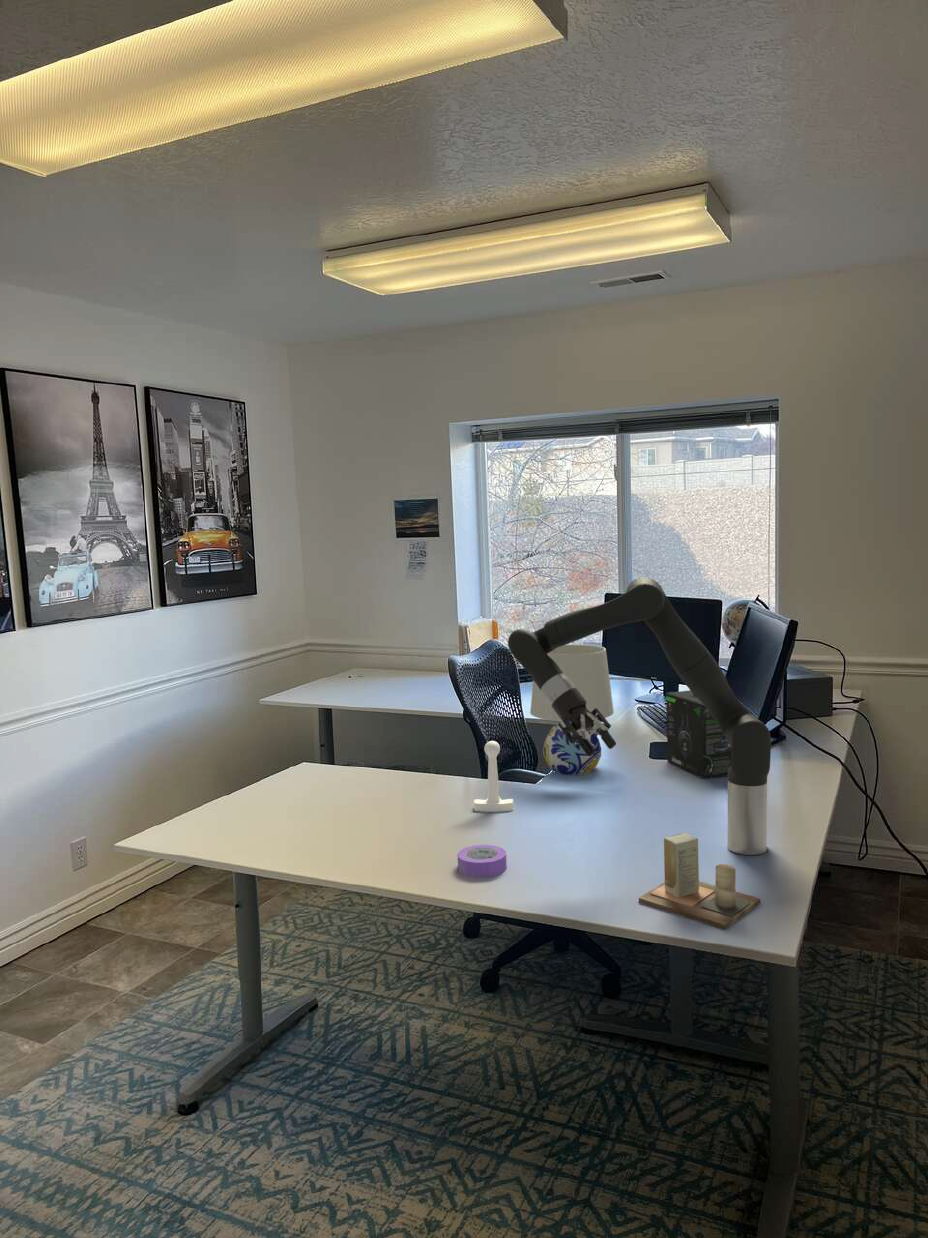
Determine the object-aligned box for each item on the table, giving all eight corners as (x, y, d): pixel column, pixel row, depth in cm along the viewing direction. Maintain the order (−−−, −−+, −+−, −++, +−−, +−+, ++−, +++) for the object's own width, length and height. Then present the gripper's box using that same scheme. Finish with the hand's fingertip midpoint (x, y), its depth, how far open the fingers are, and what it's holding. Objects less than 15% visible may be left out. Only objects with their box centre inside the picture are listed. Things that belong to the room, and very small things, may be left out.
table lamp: (612, 782, 275) (611, 655, 271) (526, 780, 281) (523, 655, 276) (615, 759, 302) (614, 643, 297) (536, 757, 307) (534, 643, 303)
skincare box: (686, 885, 195) (686, 831, 194) (699, 892, 191) (699, 838, 190) (663, 891, 192) (662, 837, 191) (675, 898, 188) (675, 843, 187)
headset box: (665, 761, 297) (665, 686, 294) (696, 758, 301) (696, 683, 298) (702, 780, 276) (702, 698, 273) (736, 775, 279) (736, 695, 276)
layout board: (676, 879, 202) (676, 839, 201) (760, 903, 188) (761, 861, 187) (638, 902, 190) (638, 860, 189) (725, 930, 177) (725, 885, 175)
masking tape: (447, 869, 212) (447, 854, 211) (481, 855, 220) (481, 840, 220) (482, 882, 204) (482, 866, 203) (516, 867, 212) (516, 852, 211)
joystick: (474, 812, 252) (472, 743, 250) (475, 803, 260) (473, 736, 257) (513, 811, 251) (511, 742, 249) (513, 803, 259) (511, 736, 257)
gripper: (554, 691, 207) (595, 747, 200) (589, 682, 217) (629, 735, 211) (536, 711, 211) (576, 766, 205) (571, 701, 221) (610, 753, 215)
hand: (603, 750), depth 208 cm, fingers open, 8 cm apart
